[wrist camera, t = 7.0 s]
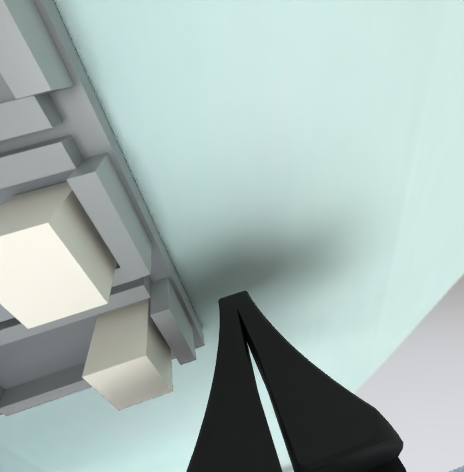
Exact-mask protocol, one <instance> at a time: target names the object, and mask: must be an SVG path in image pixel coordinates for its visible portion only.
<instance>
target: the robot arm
mask: <svg viewBox="0 0 464 472" xmlns="http://www.w3.org/2000/svg"><path fill="white" fill-rule="evenodd" d="M219 310H220V329H219V343H218V351H217V359H216V366H215V372H214V377H213V382H212V387H211V391H210V396H209V400H208V404H207V408H206V412H205V416H204V419H203V422H202V426H201V429H200V433H199V436H198V439H197V443H196V446H195V449H194V452H193V454H192V457H191V460H190V463H189V466H188V469H187V472H282V469H281V466H280V462H279V459H278V456H277V453H276V449H275V446H274V443H273V440H272V436H271V433H270V430H269V427H268V423H267V420H266V417H265V414H264V410H263V407H262V404H261V401H260V397H259V393H258V389H257V385H256V380H255V376H254V372H253V367H252V363H251V358H250V354H249V349H248V346H249V348H250V350H251V353H252V355H253V357H254V360H255V362H256V365H257V367H258V369H259V372H260V374H261V376H262V379H263V381H264V384H265V386H266V389H267V391H268V394H269V397H270V400H271V403H272V406H273V409H274V412H275V415H276V418H277V421H278V424H279V427H280V430H281V433H282V436H283V439H284V442H285V445H286V448H287V451H288V454H289V457H290V460H291V463H292V466H293V469H294V472H406V469H405V467H404V466H403V464H402V463H401V461H400V459H399V458H398V456H399V454H400V452H401V451H402V449H403V441H402V440H401V439H400V437H399V435H398V434H397V432H396V431H395V430H394V429H393V427H392V426H391V425H390V424H389V422H388V421H387V420H386V419H385V418H384V417H383V416H382V415H381V414H380V412H379V411H378V410H377V409H375V408H374V407H372V406H371V405H369V404H368V403H366V402H365V401H363V400H362V399H360V398H359V397H357V396H356V395H354V394H353V393H351V392H350V391H348V390H347V389H346V388H344V387H343V386H341V385H340V384H339V383H337V382H336V381H334V380H333V379H332V378H330V377H329V376H328V375H327V374H325V373H324V372H323V371H321V370H320V369H319V368H318V367H316V366H315V365H314V364H313V363H311V362H310V361H309V360H308V359H307V358H305V357H304V356H303V355H302V354H301V353H300V352H299V351H297V350H296V349H295V348H294V347H293V346H292V345H291V344H290V343H289V342H288V341H287V340H286V339H285V338H284V337H283V336H282V335H281V334H280V333H279V332H278V331H277V330H276V329H275V328H274V327H273V326H272V324H271V323H270V322H269V321H268V320H267V319H266V318H265V316H264V315H263V314H262V313H261V311H260V310H259V309H258V308H257V306H256V305H255V303H254V302H253V301H252V299H251V297H250V296H249V294H248V292H247V291H242V292H239V293H236V294H233V295H230V296H227V297H224V298H221V299H220V300H219ZM247 343H248V345H247ZM450 472H464V466H462V467H459V468H457V469H455V470H452V471H450Z"/></svg>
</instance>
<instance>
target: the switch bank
mask: <svg viewBox="0 0 464 472" xmlns="http://www.w3.org/2000/svg"><path fill="white" fill-rule="evenodd" d="M66 181H67V182H68V183H69V185H70V187H71V188H72V190H73V191H74V193H75V195H76V196H77V198H78V200H79V201H80V203H81V204H82V206H83V208H84V209H85V211H86V212H87V214H88V216H89V217H90V219H91V221H92V222H93V224H94V225H95V227H96V229H97V230H98V232H99V234H100V235H101V237H102V238H103V240H104V242H105V243H106V245H107V246H108V248H109V250H110V251H111V253H112V255H113V256H114V258H115V259H116V261H117V265H116V269H115V274H114V278H113V283H112V287H111V291H110V296H109V300H108V304H105V305H102V306H99V307H96V308H92V309H89V310H86V311H83V312H80V313H77V314H74V315H70V316H67V317H64V318H61V319H58V320H55V321H52V322H48V323H45V324H42V325H39V326H36V327H33V328H30V329H28V328H26V327H25V326H24V325H23V324H22V323H21V322H20V321H19V320H18V319H16V318H15V317H14V316H13V315H12V314H11V313H10V312H9V311H8V310H6V309H5V308H4V307H3V306H2V305H1V304H0V415H2V414H4V415H6V416H8V415H11V414H14V413H17V412H20V411H23V410H26V409H29V408H32V407H35V406H38V405H40V404H43V403H46V402H49V401H52V400H56V399H59V398H61V397H64V396H67V395H70V394H73V393H76V392H79V391H82V390H85V389H88V388H91V387H92V386H91V385H90V384H89V383H88V382H87V381H86V380H84V379H83V378H82V375H83V371H84V367H85V363H86V359H87V355H88V351H89V347H90V343H91V340H92V336H93V332H94V328H95V324H96V320H97V316H98V314H101V313H104V312H107V311H110V310H113V309H116V308H120V307H123V306H126V305H129V304H132V303H135V302H138V301H141V300H145V299H148V298H151V303H150V316H151V318H152V319H153V321H154V323H155V324H156V326H157V327H158V329H159V331H160V332H161V334H162V335H163V337H164V339H165V340H166V342H167V344H168V345H169V347H170V348H171V360H172V359H175V358H177V360H178V361H179V363H180V365H182V364H185V363H188V362H191V361H194V360H196V354H195V348H198V347H201V346H204V345H205V344H204V338H203V332H202V328H201V326H200V323H199V321H198V319H197V317H196V315H195V312H194V310H193V308H192V306H191V304H190V301H189V299H188V297H187V295H186V292H185V290H184V288H183V286H182V284H181V281H180V279H179V277H178V275H177V273H176V270H175V268H174V266H173V264H172V261H171V259H170V257H169V255H168V253H167V250H166V248H165V246H164V244H163V242H162V239H161V237H160V235H159V233H158V231H157V228H156V226H155V224H154V222H153V219H152V217H151V215H150V213H149V211H148V208H147V206H146V204H145V202H144V200H143V197H142V195H141V193H140V191H139V188H138V186H137V184H136V182H135V180H134V177H133V175H132V173H131V171H130V169H129V166H128V164H127V162H126V160H125V157H124V155H123V153H122V151H121V149H120V146H119V144H118V142H117V140H116V138H115V135H114V133H113V131H112V129H111V127H110V124H109V122H108V120H107V118H106V115H105V113H104V111H103V109H102V107H101V104H100V102H99V100H98V98H97V96H96V93H95V91H94V89H93V87H92V84H91V82H90V80H89V78H88V76H87V73H86V71H85V69H84V67H83V65H82V62H81V60H80V58H79V56H78V53H77V51H76V49H75V47H74V45H73V42H72V40H71V38H70V36H69V34H68V31H67V29H66V27H65V25H64V23H63V20H62V18H61V16H60V14H59V11H58V9H57V7H56V5H55V3H54V0H0V205H1V204H2V203H3V202H5V201H6V200H7V199H8V198H9V197H12V196H16V195H19V194H23V193H26V192H30V191H34V190H37V189H41V188H45V187H48V186H52V185H55V184H59V183H63V182H66Z"/></svg>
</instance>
